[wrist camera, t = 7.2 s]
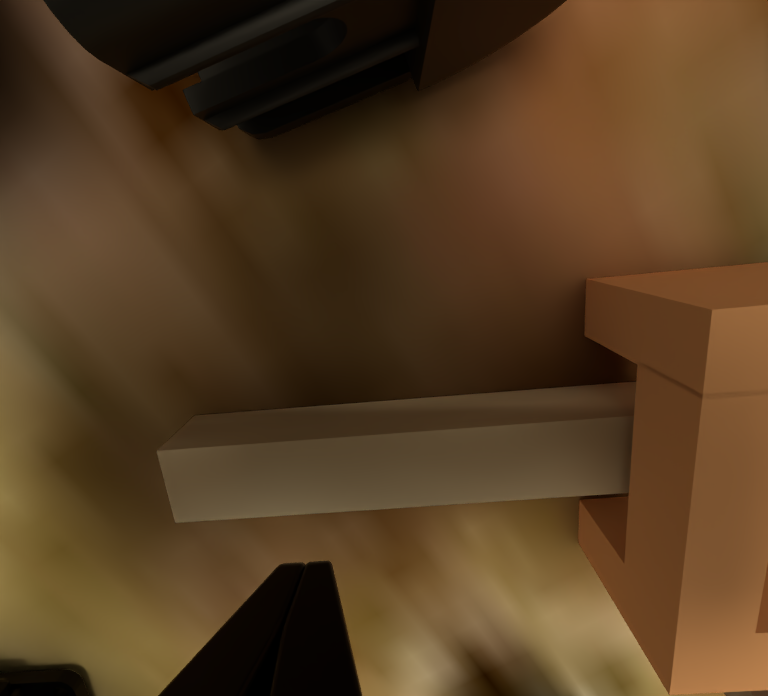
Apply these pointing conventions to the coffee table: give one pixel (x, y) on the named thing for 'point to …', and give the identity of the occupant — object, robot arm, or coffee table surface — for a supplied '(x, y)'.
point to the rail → (403, 454)
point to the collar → (689, 473)
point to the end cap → (292, 49)
